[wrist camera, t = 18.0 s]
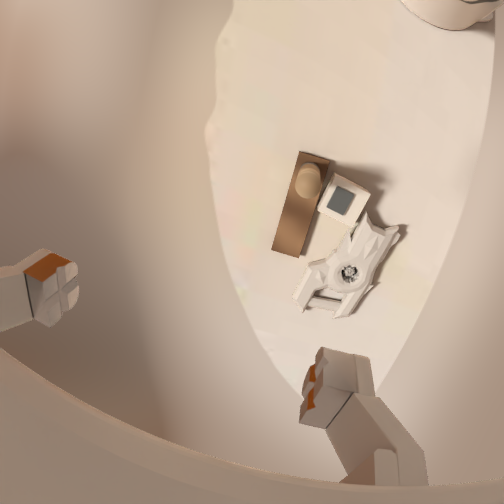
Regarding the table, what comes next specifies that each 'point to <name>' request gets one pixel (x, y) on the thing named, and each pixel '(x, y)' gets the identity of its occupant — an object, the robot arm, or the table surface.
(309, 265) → the gun
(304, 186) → the tan rounded rod
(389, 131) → the table surface
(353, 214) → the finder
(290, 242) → the bar
